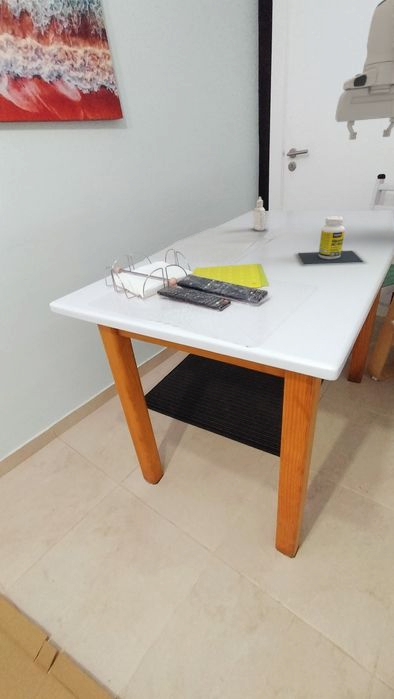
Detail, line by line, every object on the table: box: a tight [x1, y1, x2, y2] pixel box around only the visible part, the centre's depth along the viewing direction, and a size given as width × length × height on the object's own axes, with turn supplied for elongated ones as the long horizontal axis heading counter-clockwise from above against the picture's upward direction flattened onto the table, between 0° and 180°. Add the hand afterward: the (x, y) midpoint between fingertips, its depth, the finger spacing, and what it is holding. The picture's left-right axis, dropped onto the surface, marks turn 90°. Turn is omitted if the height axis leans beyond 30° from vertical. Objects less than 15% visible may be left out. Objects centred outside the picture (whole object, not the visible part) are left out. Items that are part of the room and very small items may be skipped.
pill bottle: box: [318, 215, 346, 259], centre depth 97 cm, size 6×6×11 cm
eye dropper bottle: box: [253, 196, 266, 232], centre depth 131 cm, size 4×6×12 cm
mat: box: [298, 250, 363, 265], centre depth 100 cm, size 16×10×1 cm, turn 85°
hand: (369, 138), depth 99 cm, fingers open, 8 cm apart
